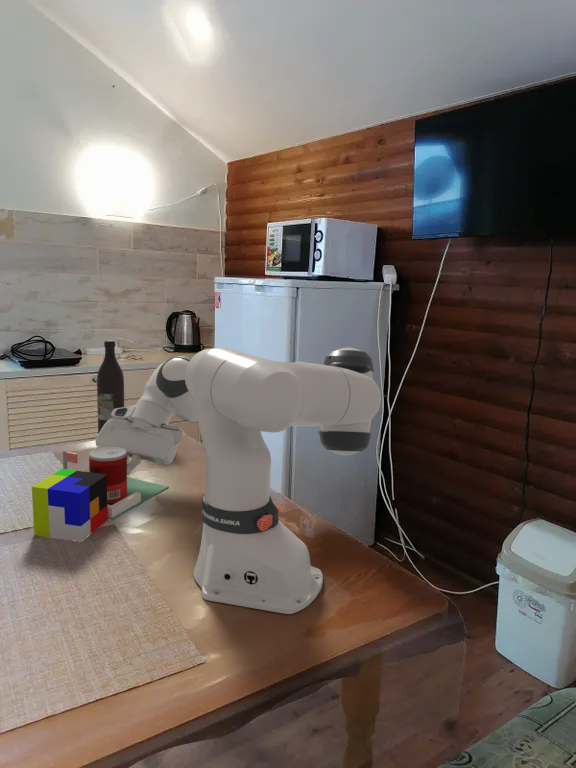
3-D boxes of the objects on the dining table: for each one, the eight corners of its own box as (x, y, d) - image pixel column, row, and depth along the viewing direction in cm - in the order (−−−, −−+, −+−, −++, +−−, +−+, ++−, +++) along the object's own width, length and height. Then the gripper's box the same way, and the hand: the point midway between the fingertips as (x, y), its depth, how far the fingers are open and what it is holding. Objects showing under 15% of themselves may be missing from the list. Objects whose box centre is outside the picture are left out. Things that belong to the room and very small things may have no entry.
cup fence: (140, 501, 131) (140, 449, 128) (112, 517, 122) (111, 462, 120) (92, 489, 136) (91, 439, 133) (62, 504, 127) (60, 451, 125)
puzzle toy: (81, 542, 112) (79, 493, 110) (34, 535, 114) (31, 486, 112) (107, 520, 122) (106, 474, 120) (63, 514, 124) (62, 468, 122)
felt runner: (168, 487, 140) (168, 486, 140) (111, 520, 122) (111, 519, 122) (120, 476, 145) (120, 475, 145) (59, 506, 127) (59, 505, 127)
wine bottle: (96, 444, 167) (93, 339, 160) (122, 442, 170) (120, 338, 164) (100, 452, 161) (98, 343, 154) (127, 449, 164) (125, 342, 157)
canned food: (133, 495, 134) (133, 448, 131) (115, 509, 126) (114, 460, 124) (103, 490, 136) (102, 444, 133) (83, 504, 128) (81, 455, 126)
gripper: (190, 435, 139) (166, 488, 133) (120, 421, 147) (93, 471, 140) (179, 421, 134) (153, 475, 128) (107, 408, 142) (79, 458, 135)
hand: (121, 473), depth 134 cm, fingers closed, pressing on canned food
